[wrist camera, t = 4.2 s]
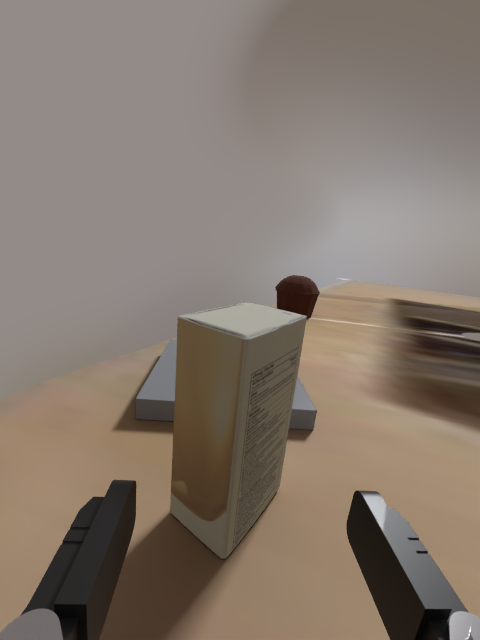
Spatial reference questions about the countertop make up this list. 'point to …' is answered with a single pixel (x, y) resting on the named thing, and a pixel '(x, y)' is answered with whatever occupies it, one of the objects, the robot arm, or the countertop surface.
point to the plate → (160, 394)
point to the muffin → (297, 295)
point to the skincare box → (231, 417)
